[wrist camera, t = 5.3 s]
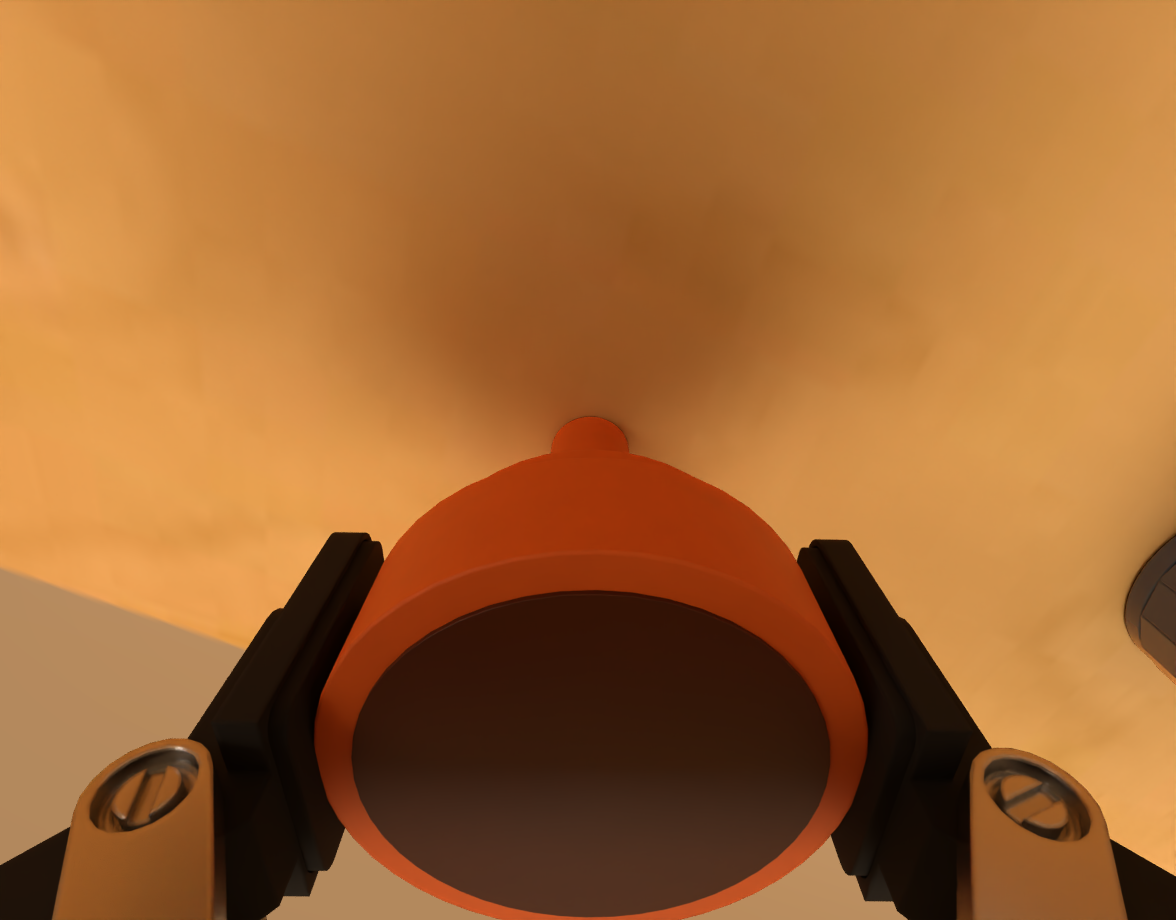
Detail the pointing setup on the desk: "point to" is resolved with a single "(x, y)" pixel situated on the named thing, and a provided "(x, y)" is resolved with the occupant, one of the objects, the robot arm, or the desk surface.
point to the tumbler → (1155, 610)
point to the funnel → (590, 696)
